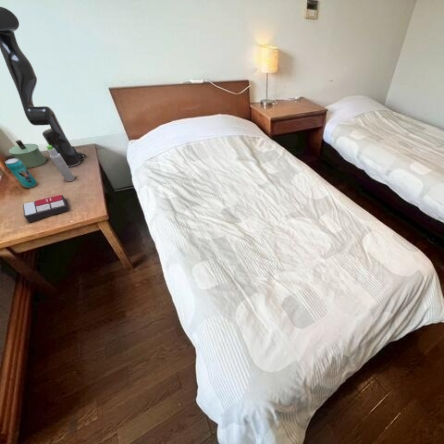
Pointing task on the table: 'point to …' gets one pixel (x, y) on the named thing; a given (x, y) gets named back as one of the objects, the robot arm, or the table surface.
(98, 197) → the table surface
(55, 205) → the grey and red box
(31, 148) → the lid
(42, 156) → the pot
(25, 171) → the beverage can
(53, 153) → the bottle
